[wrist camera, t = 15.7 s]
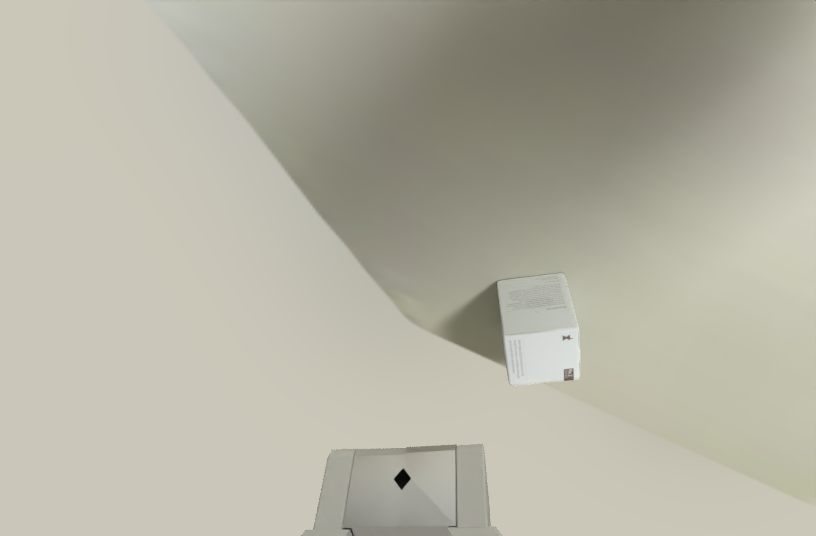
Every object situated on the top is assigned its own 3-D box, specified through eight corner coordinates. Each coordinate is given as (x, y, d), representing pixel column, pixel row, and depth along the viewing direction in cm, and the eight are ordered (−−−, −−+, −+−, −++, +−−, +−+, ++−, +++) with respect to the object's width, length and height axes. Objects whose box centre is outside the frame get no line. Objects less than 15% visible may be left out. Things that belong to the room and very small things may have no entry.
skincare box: (495, 279, 51) (501, 335, 45) (564, 271, 50) (580, 327, 44) (502, 329, 55) (508, 387, 49) (567, 322, 54) (581, 381, 48)
